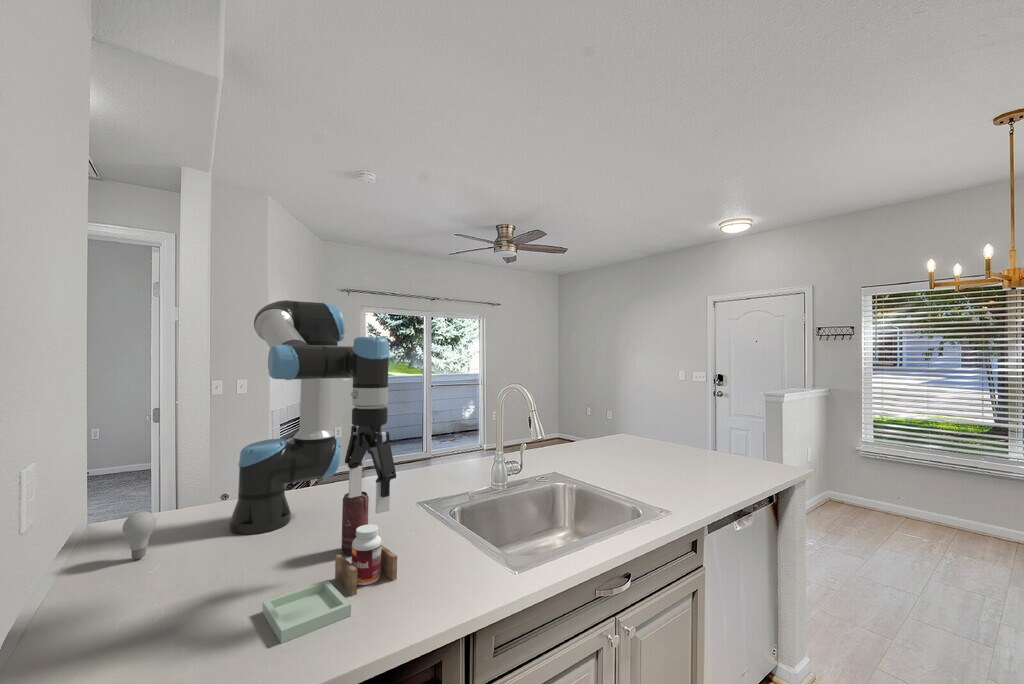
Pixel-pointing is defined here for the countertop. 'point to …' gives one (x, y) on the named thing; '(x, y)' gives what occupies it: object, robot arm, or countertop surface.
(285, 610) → the tray
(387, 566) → the rack
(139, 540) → the lightbulb
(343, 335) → the robot arm
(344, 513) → the can
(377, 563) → the pill bottle
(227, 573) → the countertop surface
